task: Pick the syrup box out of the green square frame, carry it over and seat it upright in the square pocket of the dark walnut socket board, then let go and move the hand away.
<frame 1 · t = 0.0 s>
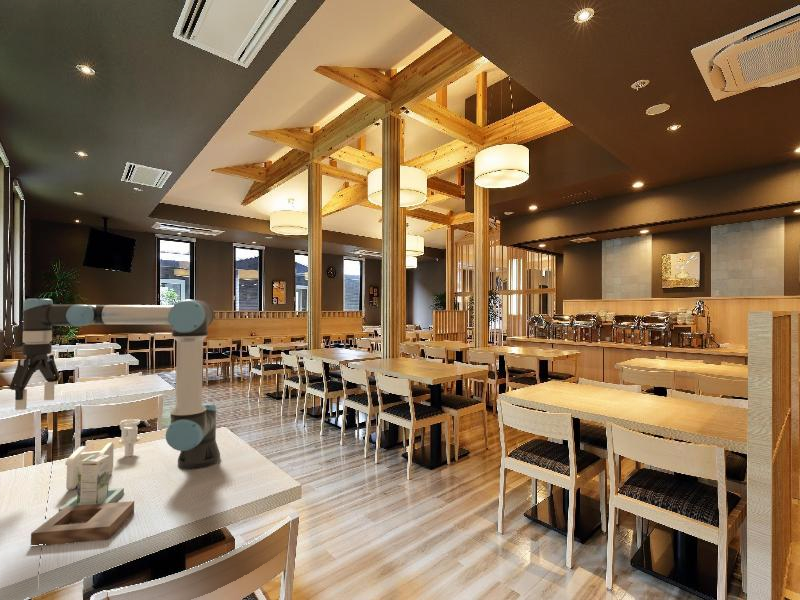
hand: (35, 404, 137), 28 cm above the table, tool pointing down, fingers open, 13 cm apart
socket board: (78, 529, 110), on the table
cable organizer: (90, 482, 139), on the table
green square frame: (93, 504, 124), on the table
syrup box: (93, 505, 124), resting in green square frame
white upright piece: (129, 455, 165), on the table
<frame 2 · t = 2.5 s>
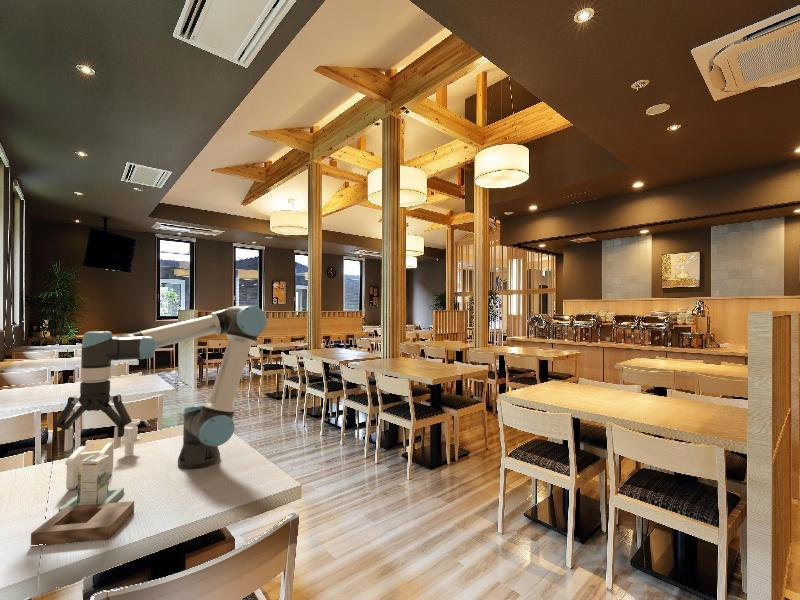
hand: (93, 448, 124), 17 cm above the table, tool pointing down, fingers open, 13 cm apart
nothing on the table moved.
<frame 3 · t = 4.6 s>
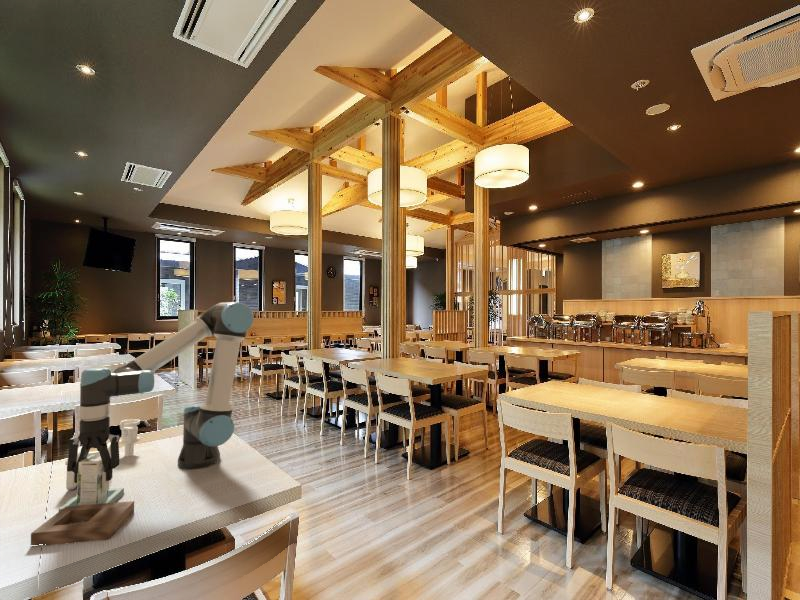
hand: (93, 491, 124), 4 cm above the table, tool pointing down, fingers closed on syrup box, 6 cm apart
syrup box: (93, 505, 124), resting in green square frame, touching gripper
everything else where it was.
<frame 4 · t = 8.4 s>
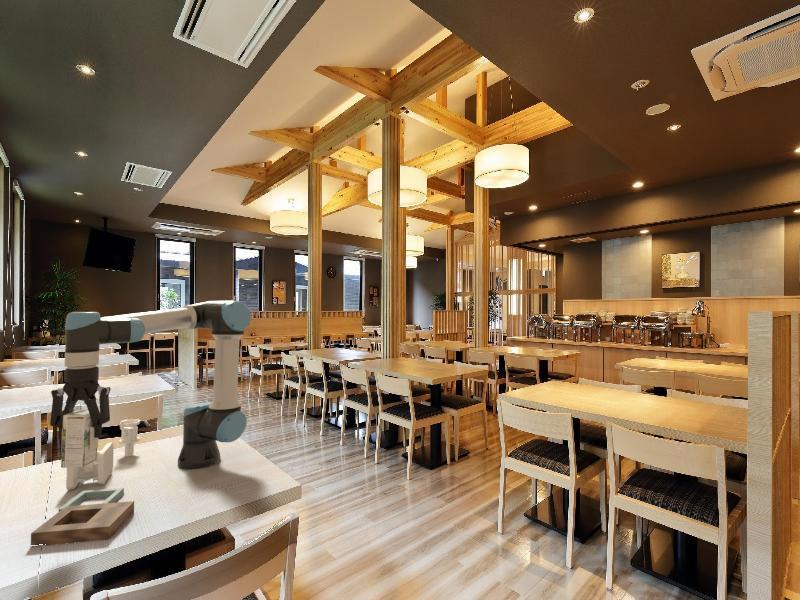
hand: (80, 449, 110), 22 cm above the table, tool pointing down, fingers closed on syrup box, 6 cm apart
syrup box: (79, 464, 110), point 18 cm above the table, touching gripper
everything else where it was.
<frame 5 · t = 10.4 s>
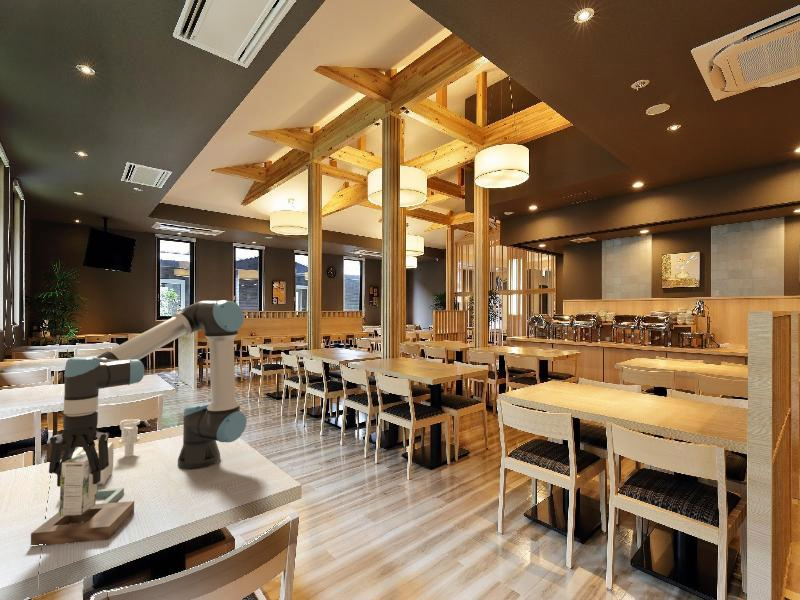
hand: (78, 496, 110), 9 cm above the table, tool pointing down, fingers closed on syrup box, 6 cm apart
syrup box: (78, 511, 110), point 5 cm above the table, touching gripper
everything else where it was.
when the fingers open (5 cm above the table, at t = 12.0 s): syrup box drops 1 cm, resting in socket board.
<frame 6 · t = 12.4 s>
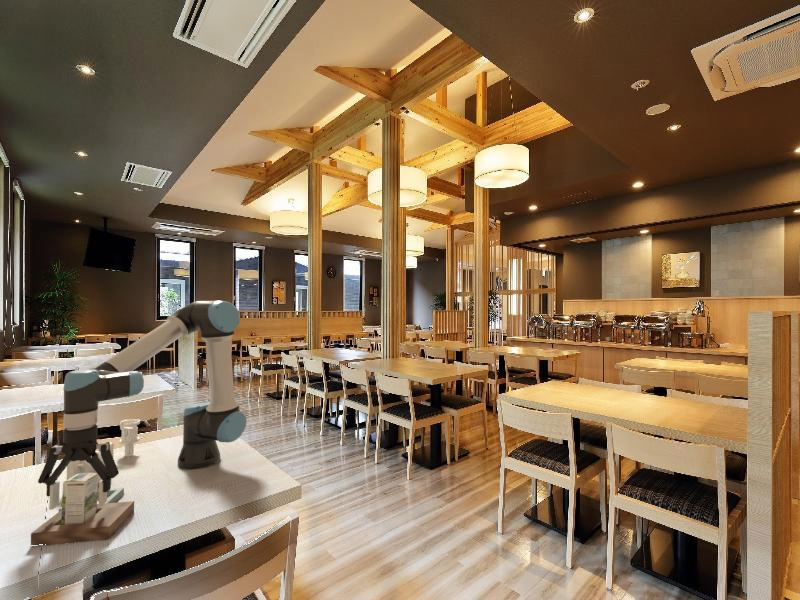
hand: (78, 505, 110), 7 cm above the table, tool pointing down, fingers open, 11 cm apart
syrup box: (79, 530, 110), resting in socket board
everything else where it was.
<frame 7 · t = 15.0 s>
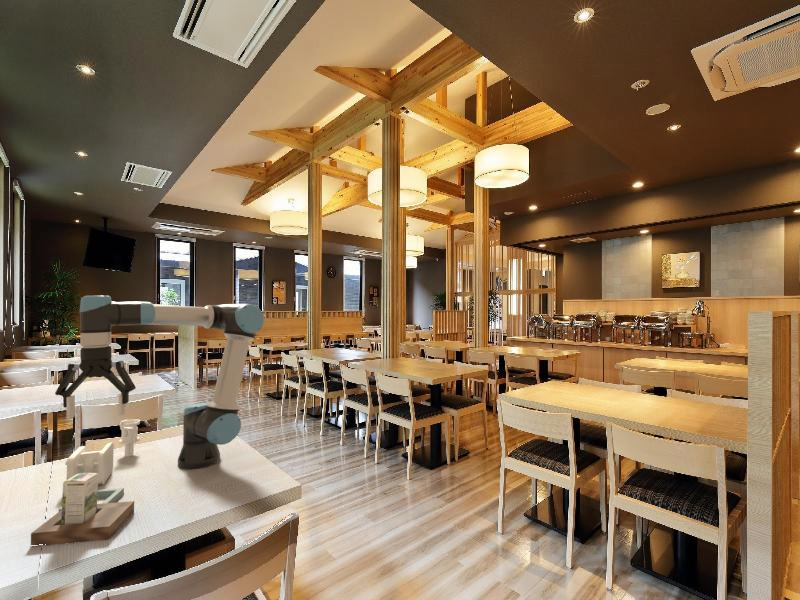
hand: (96, 416, 120), 29 cm above the table, tool pointing down, fingers open, 13 cm apart
nothing on the table moved.
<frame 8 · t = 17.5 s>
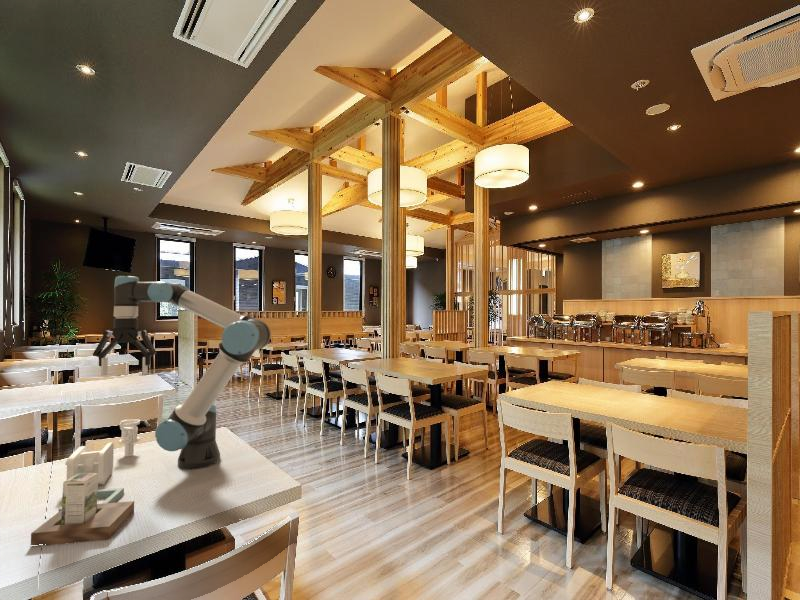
hand: (124, 374, 147), 37 cm above the table, tool pointing down, fingers open, 13 cm apart
nothing on the table moved.
at the end: syrup box 0.3 cm off-centre on the socket board, point 0.0 cm above the socket board's base; syrup box tilted 0°; the gripper is holding nothing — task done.
